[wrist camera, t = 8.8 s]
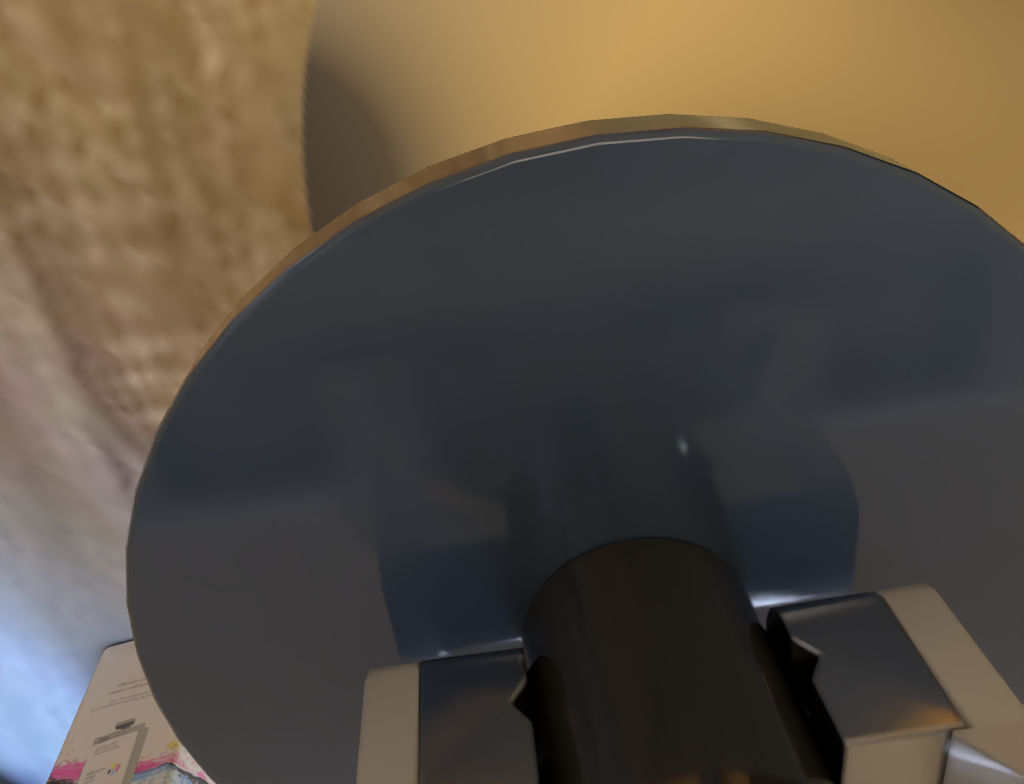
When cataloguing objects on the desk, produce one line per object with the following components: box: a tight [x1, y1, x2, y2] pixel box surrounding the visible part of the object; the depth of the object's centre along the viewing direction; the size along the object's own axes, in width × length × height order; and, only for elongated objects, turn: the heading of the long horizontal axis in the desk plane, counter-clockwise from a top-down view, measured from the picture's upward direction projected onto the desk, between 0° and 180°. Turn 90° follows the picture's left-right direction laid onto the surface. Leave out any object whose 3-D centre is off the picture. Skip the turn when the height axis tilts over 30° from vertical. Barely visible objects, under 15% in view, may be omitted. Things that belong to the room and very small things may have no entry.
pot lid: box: [125, 114, 1024, 784], centre depth 8 cm, size 10×10×4 cm
